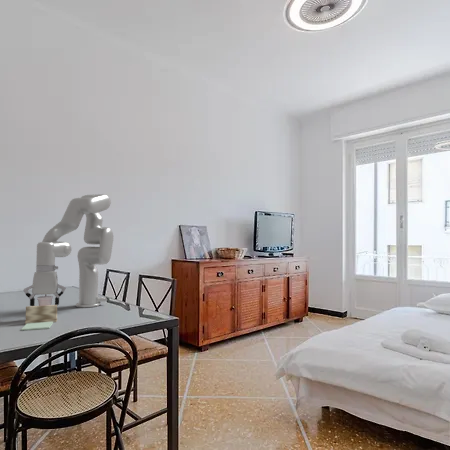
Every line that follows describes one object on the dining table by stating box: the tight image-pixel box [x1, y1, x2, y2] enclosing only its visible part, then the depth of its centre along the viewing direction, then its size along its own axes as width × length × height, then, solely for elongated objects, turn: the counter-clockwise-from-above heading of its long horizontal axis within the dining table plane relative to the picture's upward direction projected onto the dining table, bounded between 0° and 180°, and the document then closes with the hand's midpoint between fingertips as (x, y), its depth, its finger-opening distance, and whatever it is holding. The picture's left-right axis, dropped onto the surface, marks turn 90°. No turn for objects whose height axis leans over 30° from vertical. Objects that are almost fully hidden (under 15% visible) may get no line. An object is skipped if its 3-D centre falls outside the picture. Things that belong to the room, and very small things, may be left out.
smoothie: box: [36, 294, 54, 306], centre depth 161 cm, size 6×6×14 cm
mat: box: [20, 322, 54, 332], centre depth 146 cm, size 10×10×1 cm
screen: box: [24, 304, 58, 325], centre depth 154 cm, size 12×3×7 cm, turn 108°
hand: (44, 306), depth 161 cm, fingers open, 9 cm apart
